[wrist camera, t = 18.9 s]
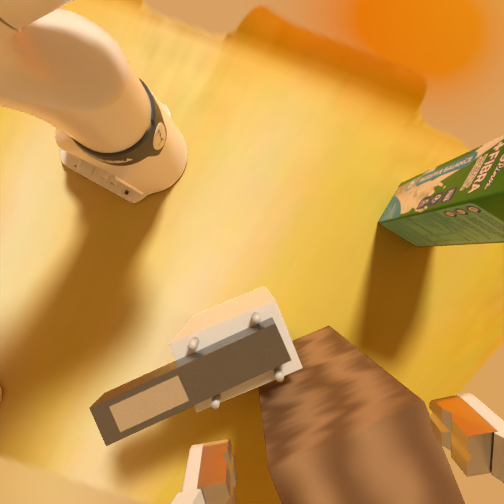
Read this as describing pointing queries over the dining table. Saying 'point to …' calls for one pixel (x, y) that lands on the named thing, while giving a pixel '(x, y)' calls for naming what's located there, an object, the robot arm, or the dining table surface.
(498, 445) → the robot arm
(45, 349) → the dining table surface
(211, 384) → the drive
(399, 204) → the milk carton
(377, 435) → the stand
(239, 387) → the dock
